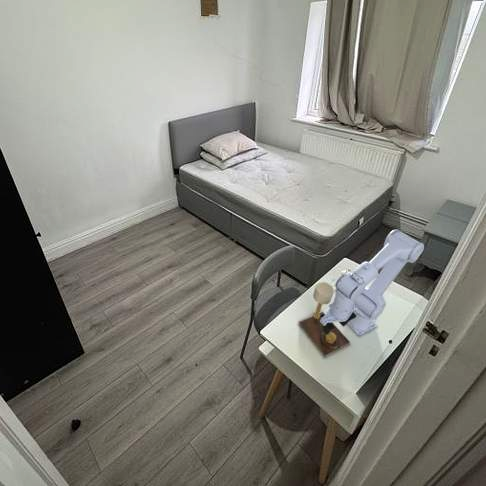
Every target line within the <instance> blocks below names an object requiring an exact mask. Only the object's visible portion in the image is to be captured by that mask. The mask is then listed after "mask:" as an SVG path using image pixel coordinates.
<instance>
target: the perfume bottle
mask: <svg viewBox="0 0 486 486" xmlns="http://www.w3.org/2000/svg"><path fill="white" fill-rule="evenodd" d="M345 269H346V270H344V271H341V273H340V277H341V276H342V275H344V274H346V275H348V274H349V273H351V272H352V271H353V269H351V268H350V267H346V268H345Z"/></svg>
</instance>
